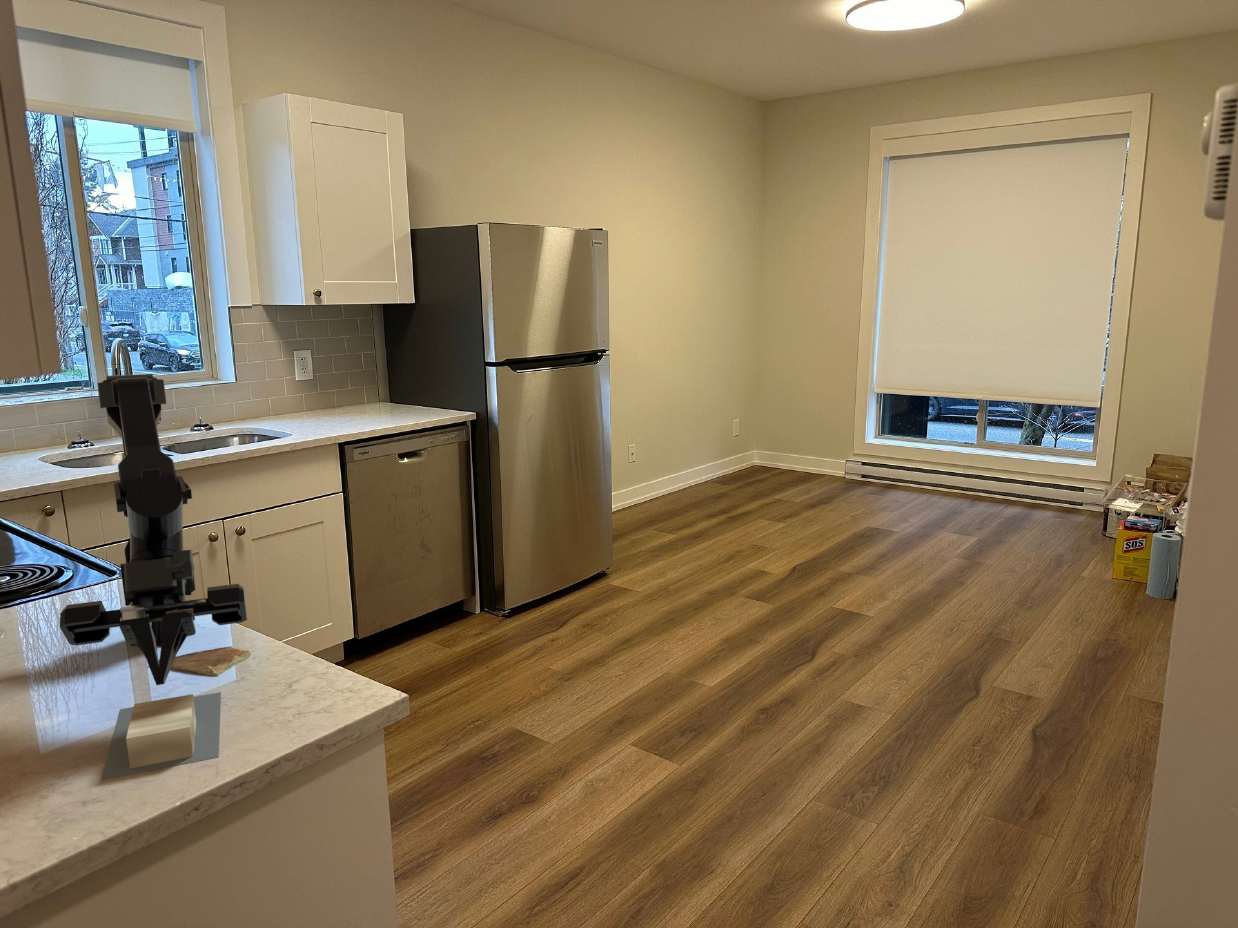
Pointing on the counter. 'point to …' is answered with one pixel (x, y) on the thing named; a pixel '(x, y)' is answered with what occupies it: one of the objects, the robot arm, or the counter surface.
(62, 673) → the counter surface
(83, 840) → the counter surface
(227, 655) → the shard
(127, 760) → the rubber mat
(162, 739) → the beige block
